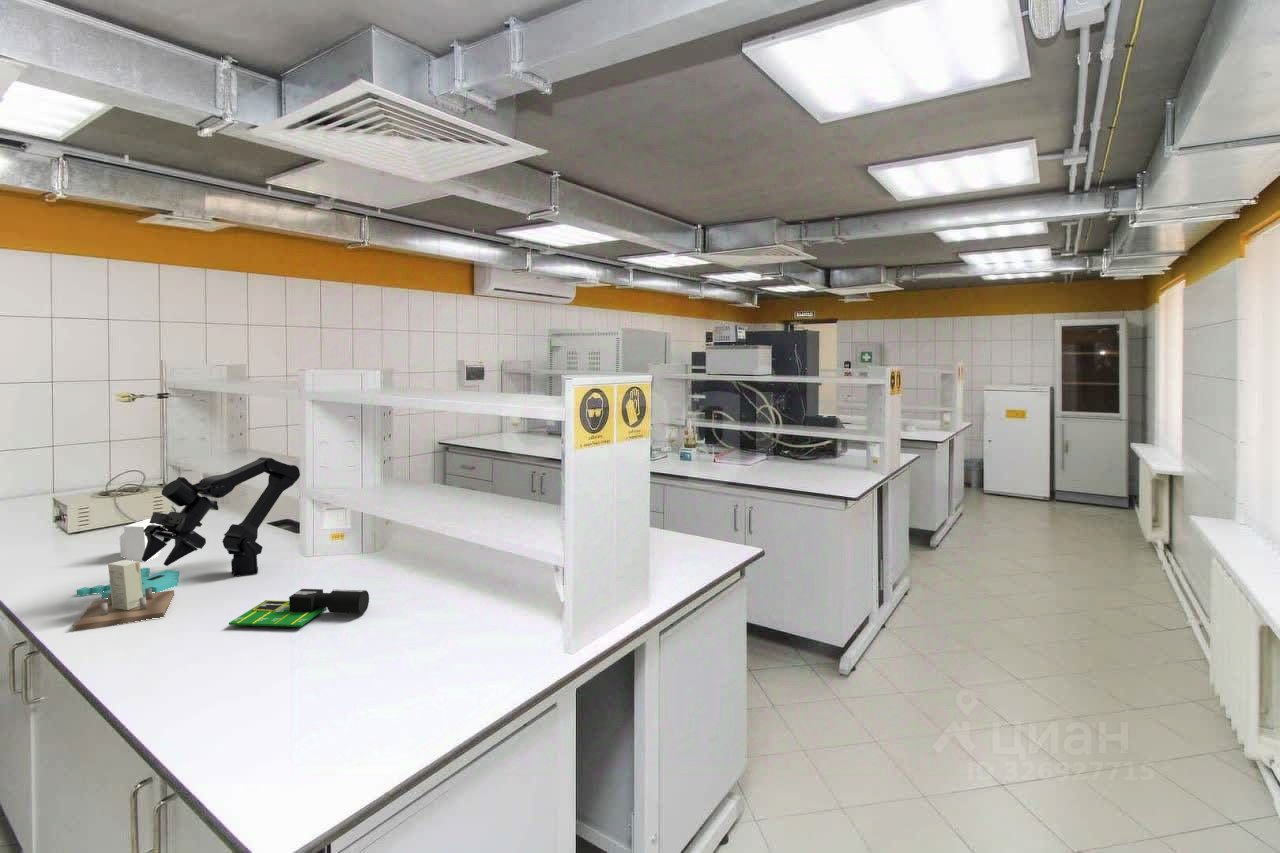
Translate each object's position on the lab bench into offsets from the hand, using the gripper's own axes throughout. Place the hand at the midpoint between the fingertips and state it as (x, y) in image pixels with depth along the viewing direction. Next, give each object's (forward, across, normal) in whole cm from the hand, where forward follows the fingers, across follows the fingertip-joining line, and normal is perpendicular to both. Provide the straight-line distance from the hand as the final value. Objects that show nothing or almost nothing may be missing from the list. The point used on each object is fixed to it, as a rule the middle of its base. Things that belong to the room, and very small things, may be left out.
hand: (154, 563), depth 175 cm
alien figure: (+4, -18, +13) cm, 22 cm away
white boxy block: (-9, -48, +26) cm, 55 cm away
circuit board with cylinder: (+3, +46, +14) cm, 48 cm away
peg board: (+13, 0, +3) cm, 13 cm away
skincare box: (+12, 0, +2) cm, 12 cm away
